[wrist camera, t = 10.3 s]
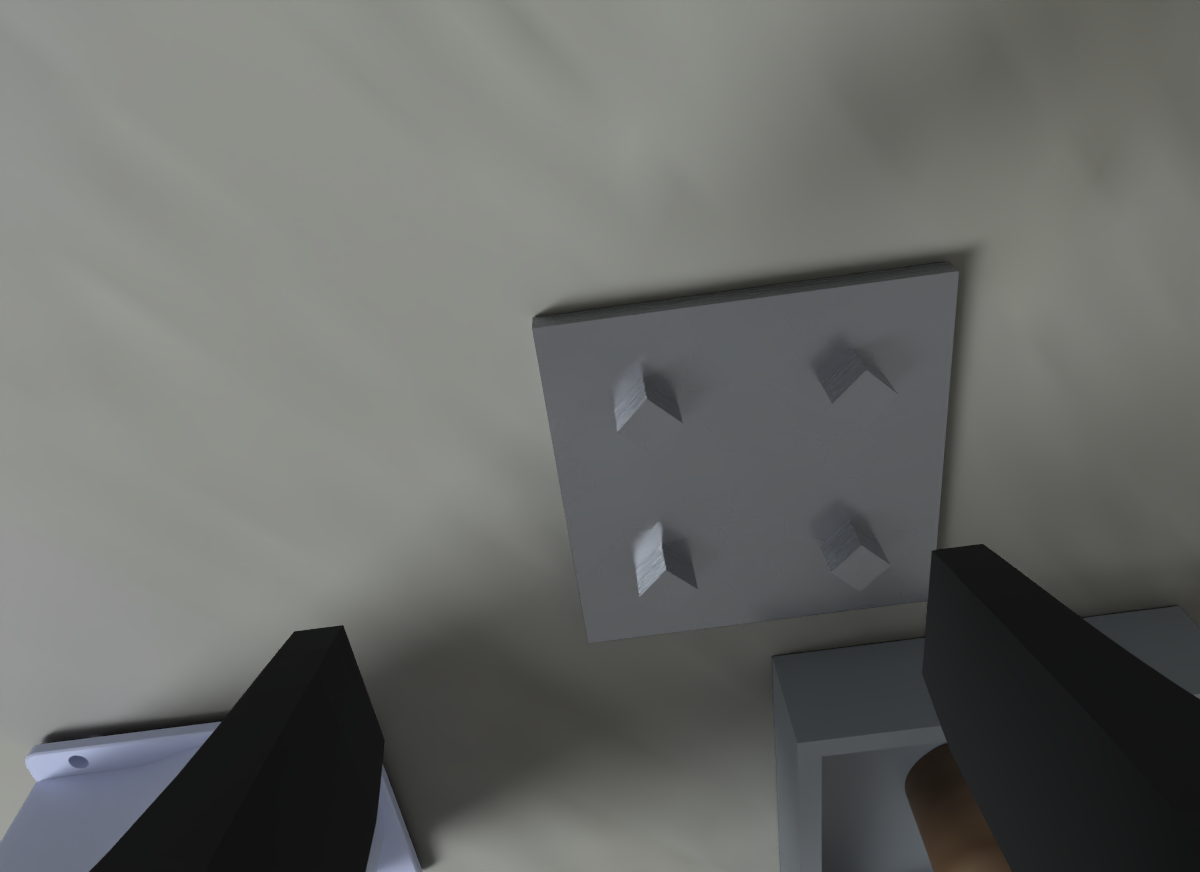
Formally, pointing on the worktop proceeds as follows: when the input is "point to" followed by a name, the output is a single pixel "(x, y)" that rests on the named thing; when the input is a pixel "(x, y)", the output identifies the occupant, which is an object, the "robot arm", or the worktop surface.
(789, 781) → the bin
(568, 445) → the plate
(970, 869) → the brown wooden cylinder
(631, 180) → the worktop surface
